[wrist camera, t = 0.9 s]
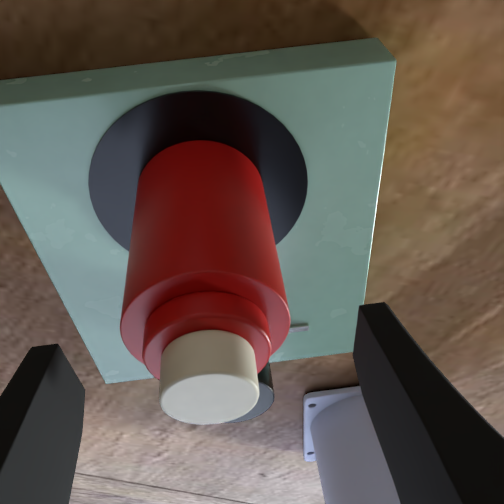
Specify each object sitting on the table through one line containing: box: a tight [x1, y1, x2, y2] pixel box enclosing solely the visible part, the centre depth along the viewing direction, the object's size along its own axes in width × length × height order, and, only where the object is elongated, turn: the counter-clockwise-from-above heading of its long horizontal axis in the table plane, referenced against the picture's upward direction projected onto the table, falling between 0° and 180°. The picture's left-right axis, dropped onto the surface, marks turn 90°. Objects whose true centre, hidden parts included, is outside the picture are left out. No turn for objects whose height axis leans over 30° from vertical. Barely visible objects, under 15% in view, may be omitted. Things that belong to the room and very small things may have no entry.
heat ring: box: [88, 90, 308, 251], centre depth 17 cm, size 8×8×1 cm
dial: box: [223, 360, 274, 423], centre depth 21 cm, size 4×4×4 cm
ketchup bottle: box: [120, 140, 291, 425], centre depth 14 cm, size 4×4×8 cm
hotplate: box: [0, 38, 396, 384], centre depth 20 cm, size 16×13×2 cm
